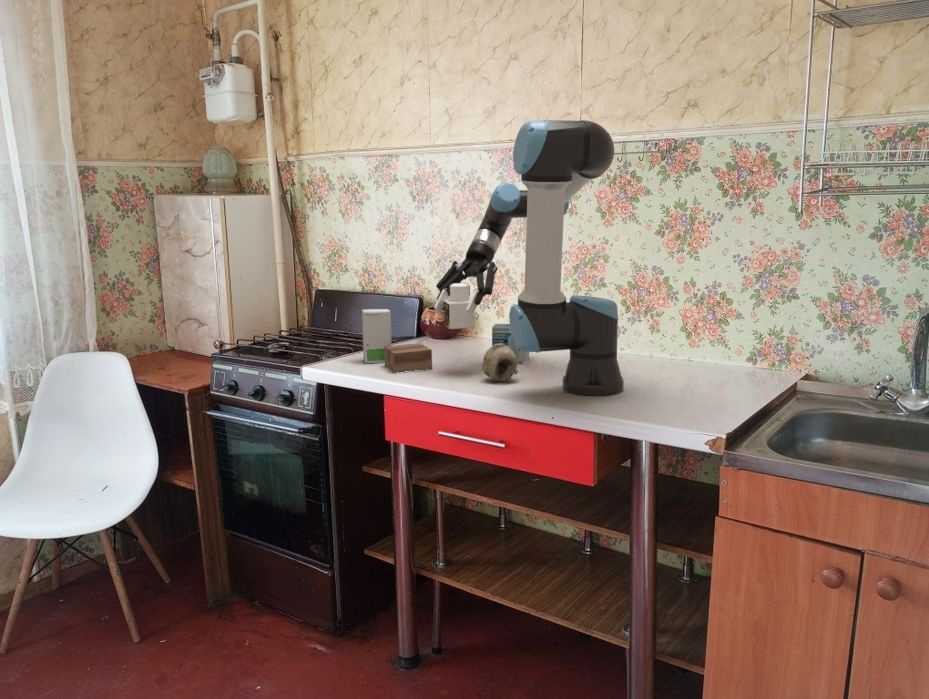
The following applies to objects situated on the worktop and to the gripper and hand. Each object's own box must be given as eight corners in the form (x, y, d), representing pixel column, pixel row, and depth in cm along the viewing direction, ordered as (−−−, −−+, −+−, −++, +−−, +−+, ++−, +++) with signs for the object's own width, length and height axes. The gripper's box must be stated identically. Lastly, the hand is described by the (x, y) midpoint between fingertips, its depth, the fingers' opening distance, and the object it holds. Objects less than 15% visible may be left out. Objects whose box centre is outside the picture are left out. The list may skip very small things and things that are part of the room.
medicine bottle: (444, 325, 209) (443, 282, 206) (469, 323, 210) (468, 281, 208) (449, 329, 202) (448, 284, 200) (475, 327, 203) (474, 283, 201)
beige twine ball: (476, 380, 200) (476, 344, 198) (498, 375, 206) (497, 339, 204) (503, 386, 193) (502, 348, 191) (524, 380, 199) (524, 343, 197)
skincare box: (365, 364, 223) (362, 312, 220) (363, 359, 229) (360, 309, 226) (393, 362, 225) (391, 310, 222) (390, 357, 231) (388, 307, 228)
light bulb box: (491, 362, 222) (491, 326, 219) (494, 358, 228) (494, 323, 226) (527, 363, 220) (527, 327, 218) (529, 358, 226) (529, 323, 224)
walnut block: (432, 370, 214) (431, 349, 213) (394, 374, 210) (394, 353, 209) (420, 362, 224) (420, 343, 223) (385, 366, 220) (384, 346, 219)
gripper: (521, 259, 209) (493, 322, 199) (455, 257, 221) (425, 317, 211) (512, 240, 204) (482, 305, 194) (444, 240, 216) (413, 301, 206)
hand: (452, 311), depth 203 cm, fingers closed on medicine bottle, 10 cm apart
